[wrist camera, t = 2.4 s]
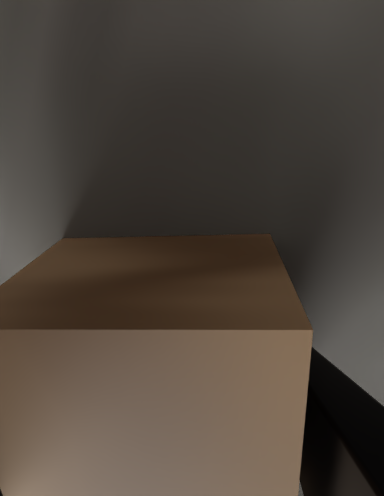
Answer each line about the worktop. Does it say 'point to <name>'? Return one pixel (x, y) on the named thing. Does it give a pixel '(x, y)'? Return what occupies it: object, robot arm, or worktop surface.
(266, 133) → the worktop surface
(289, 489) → the walnut cube
